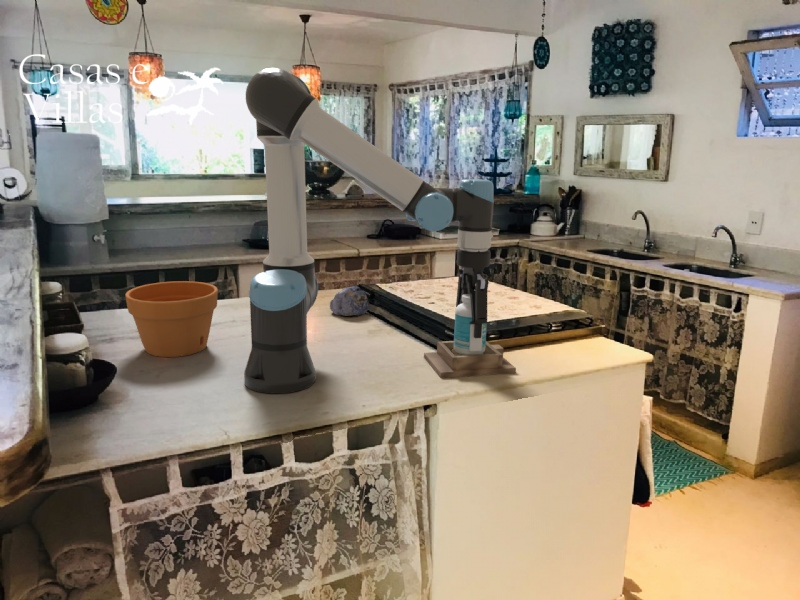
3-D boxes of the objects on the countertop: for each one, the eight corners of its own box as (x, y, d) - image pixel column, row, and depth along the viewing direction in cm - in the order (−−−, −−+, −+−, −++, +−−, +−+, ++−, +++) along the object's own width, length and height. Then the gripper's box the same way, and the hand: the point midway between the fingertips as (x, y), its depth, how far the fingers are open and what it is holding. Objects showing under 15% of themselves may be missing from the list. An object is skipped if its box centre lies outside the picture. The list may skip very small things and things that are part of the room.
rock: (375, 303, 198) (361, 277, 193) (358, 325, 191) (342, 299, 187) (350, 304, 204) (335, 279, 200) (332, 326, 198) (317, 300, 193)
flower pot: (184, 367, 147) (181, 304, 143) (110, 355, 153) (105, 295, 150) (236, 341, 166) (234, 285, 163) (168, 332, 173) (165, 278, 169)
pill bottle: (483, 358, 148) (487, 300, 144) (451, 355, 149) (454, 298, 146) (486, 348, 155) (489, 293, 152) (455, 345, 156) (457, 291, 153)
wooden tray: (440, 377, 144) (441, 359, 143) (423, 357, 157) (424, 341, 156) (515, 372, 148) (516, 355, 147) (493, 353, 161) (494, 337, 160)
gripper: (506, 256, 137) (500, 358, 143) (474, 241, 157) (470, 332, 162) (473, 256, 136) (468, 360, 141) (445, 242, 155) (441, 333, 160)
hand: (469, 344), depth 151 cm, fingers closed on pill bottle, 7 cm apart
